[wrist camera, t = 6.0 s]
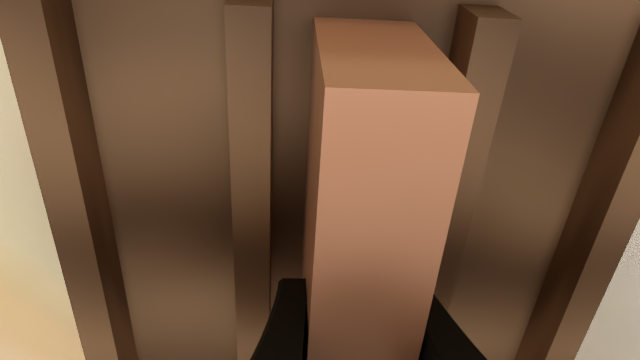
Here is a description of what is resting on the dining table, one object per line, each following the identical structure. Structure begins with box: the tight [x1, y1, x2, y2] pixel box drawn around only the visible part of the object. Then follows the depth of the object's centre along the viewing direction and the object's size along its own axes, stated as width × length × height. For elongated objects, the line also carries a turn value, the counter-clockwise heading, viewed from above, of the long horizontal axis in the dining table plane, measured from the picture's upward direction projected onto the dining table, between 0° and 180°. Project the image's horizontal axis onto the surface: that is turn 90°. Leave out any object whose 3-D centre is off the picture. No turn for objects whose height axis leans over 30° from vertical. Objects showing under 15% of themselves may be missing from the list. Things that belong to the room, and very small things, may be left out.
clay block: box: [301, 17, 480, 360], centre depth 14 cm, size 14×2×5 cm, turn 177°
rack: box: [0, 0, 640, 360], centre depth 15 cm, size 16×17×2 cm
